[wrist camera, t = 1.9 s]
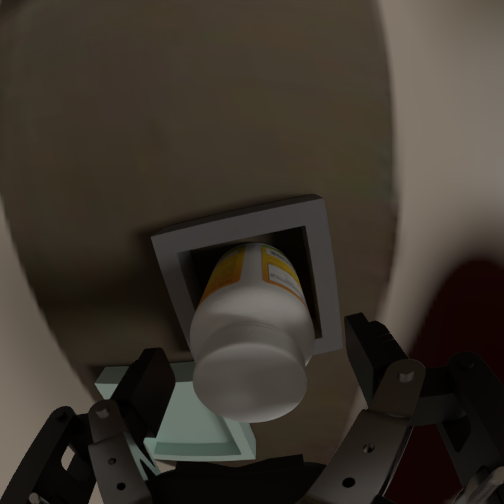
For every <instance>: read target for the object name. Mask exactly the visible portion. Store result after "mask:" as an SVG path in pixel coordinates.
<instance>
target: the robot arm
mask: <svg viewBox="0 0 504 504" xmlns="http://www.w3.org/2000/svg"><path fill="white" fill-rule="evenodd" d="M344 323H345V335H346V348H347V354H348V358H349V361H350V363H351V366H352V368H353V370H354V373H355V375H356V378H357V380H358V382H359V385H360V387H361V390H362V392H363V395H364V397H365V400H366V402H367V405H368V409H367V410H365V409H363V410H362V411H361V412H360V413H359V415H358V416H357V418H356V420H355V422H354V423H353V425H352V427H351V428H350V430H349V432H348V433H347V435H346V437H345V438H344V440H343V442H342V443H341V445H340V446H339V448H338V449H337V451H336V453H335V454H334V456H333V457H332V459H331V460H330V462H329V463H328V464H327V465H324V464H320V463H313V462H304V460H303V455H302V454H299V455H292V456H285V457H278V458H269V459H266V460H263V461H260V462H256V463H253V464H249V465H245V466H241V467H228V466H223V465H218V464H213V463H208V462H184V461H177V464H176V468H175V469H174V470H170V471H166V472H164V473H161V472H160V470H159V468H158V467H157V465H156V463H155V461H154V459H153V457H152V455H151V453H150V451H149V449H148V447H147V445H146V444H145V443H144V440H145V438H156V437H157V434H158V431H159V429H160V426H161V423H162V420H163V418H164V415H165V412H166V410H167V407H168V404H169V401H170V399H171V396H172V393H173V391H174V388H175V384H176V380H175V375H174V372H173V370H172V368H171V366H170V364H169V361H168V359H167V357H166V355H165V352H164V351H163V349H162V348H160V347H159V348H148V349H144V351H143V352H142V354H141V356H140V357H139V359H138V360H136V361H135V362H134V363H133V364H131V365H130V366H129V368H128V369H127V371H126V373H125V375H124V376H123V377H122V379H121V381H120V382H119V384H118V386H117V387H116V389H115V391H114V392H113V394H112V396H111V397H110V399H104V400H101V401H99V402H97V403H95V404H94V405H93V406H92V407H91V408H90V410H89V412H88V413H86V414H80V415H76V413H75V412H74V411H73V409H72V408H71V407H68V406H63V407H60V408H58V409H56V410H54V411H53V412H52V413H51V415H50V416H49V418H48V419H47V421H46V422H45V424H44V425H43V427H42V429H41V430H40V432H39V433H38V435H37V436H36V438H35V440H34V441H33V443H32V444H31V446H30V448H29V450H28V451H27V453H26V454H25V456H24V458H23V459H22V461H21V463H20V465H19V466H18V468H17V470H16V472H15V473H14V475H13V477H12V479H11V481H10V482H9V485H8V486H7V488H6V490H5V492H4V494H3V496H2V498H1V500H0V504H88V503H89V500H90V497H91V494H92V492H93V489H94V486H95V484H96V481H97V483H98V487H99V490H100V494H101V497H102V500H103V503H104V504H396V503H394V502H392V501H390V500H388V499H386V498H385V497H383V495H384V494H385V492H386V490H387V488H388V486H389V484H390V482H391V480H392V478H393V475H394V473H395V471H396V468H397V466H398V463H399V461H400V459H401V456H402V454H403V452H404V449H405V447H406V444H407V442H408V439H409V437H410V434H411V432H412V429H413V426H420V425H428V424H436V426H437V428H438V430H439V432H440V434H441V436H442V439H443V441H444V443H445V445H446V448H447V450H448V452H449V455H450V457H451V459H452V462H453V464H454V467H455V469H456V471H457V474H458V477H459V479H460V482H461V484H462V487H463V489H462V490H461V492H460V493H459V494H458V495H457V497H456V499H455V501H454V504H504V386H503V384H502V383H501V382H500V380H499V379H498V378H497V377H496V375H495V374H494V373H493V372H492V370H491V369H490V368H489V367H488V366H487V364H486V363H485V362H484V361H483V360H482V358H481V357H480V356H478V355H477V354H475V353H472V352H459V353H457V354H454V355H453V356H452V357H451V358H450V359H449V361H448V365H447V366H444V367H437V368H425V367H424V366H423V365H422V363H420V362H418V361H416V360H413V359H408V357H407V356H406V354H405V353H404V352H403V350H402V349H401V347H400V346H399V344H398V343H397V342H396V340H394V337H393V336H392V335H391V334H390V332H389V331H388V329H387V328H386V326H385V325H383V324H381V323H380V322H378V321H372V322H368V321H367V319H366V317H365V316H364V314H363V313H362V312H361V313H357V314H353V315H349V316H345V318H344ZM67 446H69V447H70V448H71V449H72V451H73V452H74V453H75V455H74V456H73V458H72V461H71V463H70V465H69V467H68V469H67V471H66V470H65V469H64V468H63V466H62V463H61V458H62V456H63V454H64V452H65V450H66V448H67Z"/></svg>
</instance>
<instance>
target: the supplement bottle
mask: <svg viewBox="0 0 504 504" xmlns="http://www.w3.org/2000/svg"><path fill="white" fill-rule="evenodd" d="M314 342H315V334H314V328H313V323H312V319H311V316H310V313H309V310H308V307H307V304H306V301H305V298H304V295H303V292H302V288H301V286H300V283H299V279H298V276H297V274H296V271H295V269H294V267H293V265H292V263H291V262H290V260H289V259H288V258H287V256H286V255H285V254H284V253H282V252H281V251H280V250H278V249H276V248H275V247H272V246H270V245H267V244H263V243H246V244H242V245H239V246H236V247H234V248H232V249H231V250H229V251H228V252H226V253H225V254H224V255H223V256H222V257H221V258H220V260H219V261H218V262H217V264H216V266H215V268H214V270H213V272H212V275H211V277H210V279H209V282H208V284H207V286H206V288H205V291H204V293H203V296H202V298H201V300H200V303H199V305H198V307H197V309H196V312H195V314H194V317H193V320H192V323H191V328H190V345H191V349H192V353H193V355H194V357H195V359H196V364H195V368H194V372H193V387H194V391H195V393H196V395H197V397H198V399H199V400H200V401H201V403H202V404H204V405H205V406H206V407H207V408H208V409H209V410H211V411H212V412H214V413H215V414H217V415H219V416H221V417H224V418H227V419H230V420H234V421H239V422H248V423H252V422H264V421H269V420H273V419H276V418H278V417H281V416H283V415H285V414H287V413H288V412H290V411H291V410H293V409H294V408H295V407H296V406H297V405H298V404H299V403H300V402H301V400H302V399H303V397H304V395H305V392H306V389H307V373H306V367H305V366H306V365H307V363H308V362H309V360H310V358H311V355H312V353H313V349H314Z"/></svg>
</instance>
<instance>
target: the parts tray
mask: <svg viewBox="0 0 504 504" xmlns="http://www.w3.org/2000/svg"><path fill="white" fill-rule="evenodd" d="M195 364H196V363H195V361H192V362H182V363H171V364H170V366H171V368H172V370H173V372H174V375H175V380H176V384H175V388H174V391H173V393H172V396H171V399H170V401H169V404H168V407H167V410H166V412H165V415H164V418H163V420H162V423H161V426H160V429H159V431H158V434H157V437H156V438H145V440H144V443H145V444H146V445H147V447H148V449H149V451H150V453H151V455H152V457H153V459H163V460H179V461H232V460H248V459H255V455H256V439H255V437H254V434H253V432H252V429H251V427H250V424H249V423H248V422H239V421H234V420H230V419H227V418H224V417H221V416H219V415H217V414H215V413H214V412H212V411H211V410H209V409H208V408H207V407H206V406H205V405H204V404H202V403H201V401H200V400H199V399H198V397H197V395H196V393H195V391H194V387H193V372H194V368H195ZM128 368H129V366H117V367H105V368H104V370H103V371H102V373H101V374H100V376H99V377H98V379H97V380H96V382H95V383H94V384H95V385H96V387H97V389H98V390H99V392H100V393H101V395H102V396H103V398H104V399H110V397H111V396H112V394H113V392H114V391H115V389H116V387H117V386H118V384H119V382H120V381H121V379H122V377H123V376H124V375H125V373H126V371H127V369H128Z"/></svg>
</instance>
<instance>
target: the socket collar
mask: <svg viewBox="0 0 504 504" xmlns="http://www.w3.org/2000/svg"><path fill="white" fill-rule="evenodd" d="M300 226H301V231H302V236H303V242H304V247H305V253H306V259H307V264H308V270H309V276H310V283H311V289H312V295H313V302H314V309H315V316H316V318H313V319H312V323H313V328H314V334H315V342H314V349H313V353H312V355H317V354H321V353H325V352H330V351H334V350H338V349H342V348H343V346H342V333H341V321H340V311H339V301H338V292H337V283H336V275H335V267H334V260H333V252H332V245H331V239H330V232H329V226H328V220H327V214H326V208H325V202H324V198H322V197H320V196H318V195H316V194H311V195H306V196H301V197H296V198H291V199H286V200H281V201H277V202H272V203H267V204H262V205H258V206H253V207H249V208H244V209H240V210H235V211H231V212H226V213H222V214H218V215H213V216H209V217H205V218H201V219H197V220H193V221H188V222H184V223H180V224H176V225H172V226H169V227H165V228H163V229H162V230H160V231H159V232H157V233H156V234H154V235H153V236H151V240H152V243H153V247H154V250H155V253H156V256H157V260H158V263H159V266H160V269H161V272H162V275H163V278H164V281H165V284H166V287H167V290H168V293H169V296H170V298H171V301H172V304H173V307H174V310H175V312H176V315H177V318H178V320H179V323H180V326H181V328H182V331H183V333H184V336H185V339H186V341H187V344H188V346H189V349H190V351H191V353H192V349H191V345H190V328H191V323H192V320H193V317H194V314H195V312H196V309H197V307H198V305H199V303H200V300H201V298H202V296H203V293H202V289H201V286H200V283H199V280H198V276H197V273H196V270H195V266H194V263H193V260H192V256H191V253H190V250H192V249H197V248H201V247H206V246H210V245H215V244H220V243H224V242H229V241H234V240H238V239H243V238H247V237H252V236H257V235H262V234H266V233H271V232H276V231H281V230H285V229H290V228H295V227H300ZM312 355H311V356H312ZM192 356H193V358H194V361H195V363H196V359H195V357H194V355H193V353H192Z"/></svg>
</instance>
